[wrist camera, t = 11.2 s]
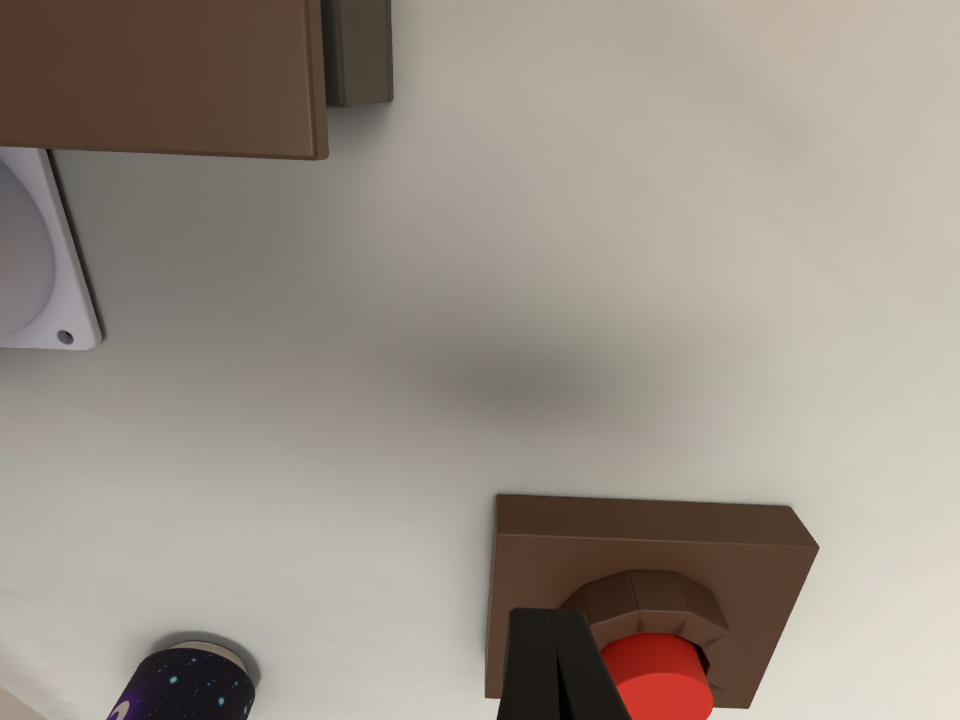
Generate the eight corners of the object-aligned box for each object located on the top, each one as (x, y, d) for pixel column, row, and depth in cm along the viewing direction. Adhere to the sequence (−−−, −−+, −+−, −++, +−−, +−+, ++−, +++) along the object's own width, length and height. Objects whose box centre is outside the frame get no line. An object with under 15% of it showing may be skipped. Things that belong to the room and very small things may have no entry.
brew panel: (484, 653, 26) (484, 742, 23) (496, 493, 22) (497, 572, 18) (730, 663, 26) (767, 753, 23) (791, 506, 22) (849, 587, 18)
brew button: (586, 692, 22) (593, 738, 20) (600, 625, 20) (610, 671, 19) (685, 696, 22) (700, 743, 20) (708, 630, 20) (726, 676, 19)
